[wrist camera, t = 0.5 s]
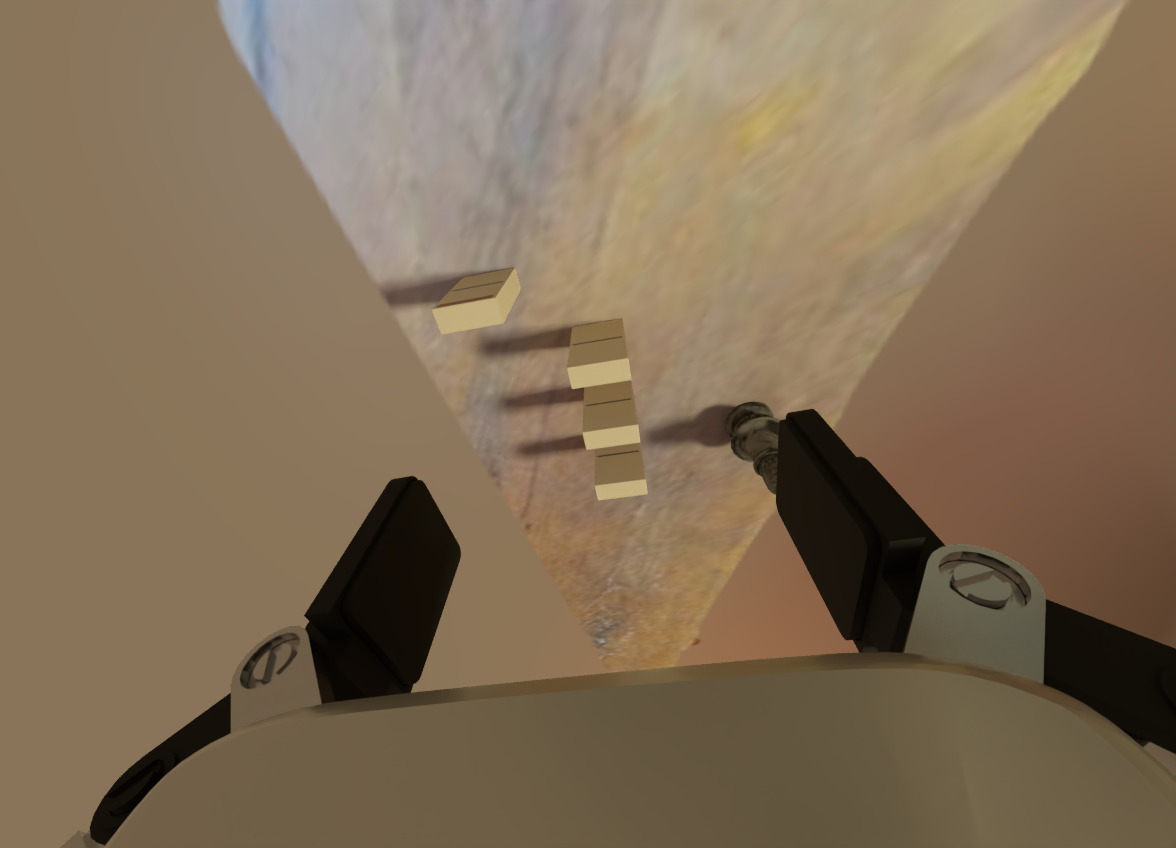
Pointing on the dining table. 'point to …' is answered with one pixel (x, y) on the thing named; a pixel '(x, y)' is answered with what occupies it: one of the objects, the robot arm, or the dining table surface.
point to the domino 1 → (477, 301)
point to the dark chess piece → (756, 439)
